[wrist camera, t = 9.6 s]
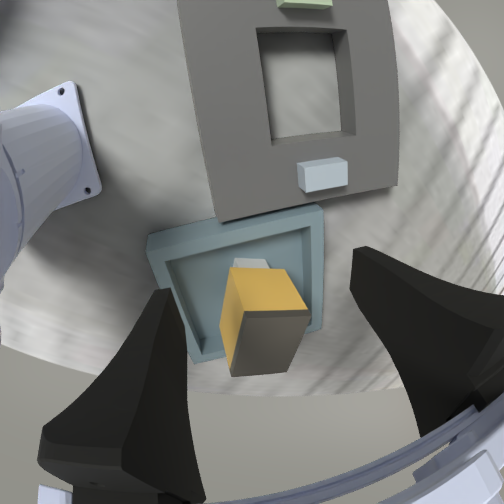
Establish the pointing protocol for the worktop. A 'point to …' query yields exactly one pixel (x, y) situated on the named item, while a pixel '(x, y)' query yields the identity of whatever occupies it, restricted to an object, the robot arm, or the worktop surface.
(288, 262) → the parts tray
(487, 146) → the worktop surface
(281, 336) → the block
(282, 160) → the panel
